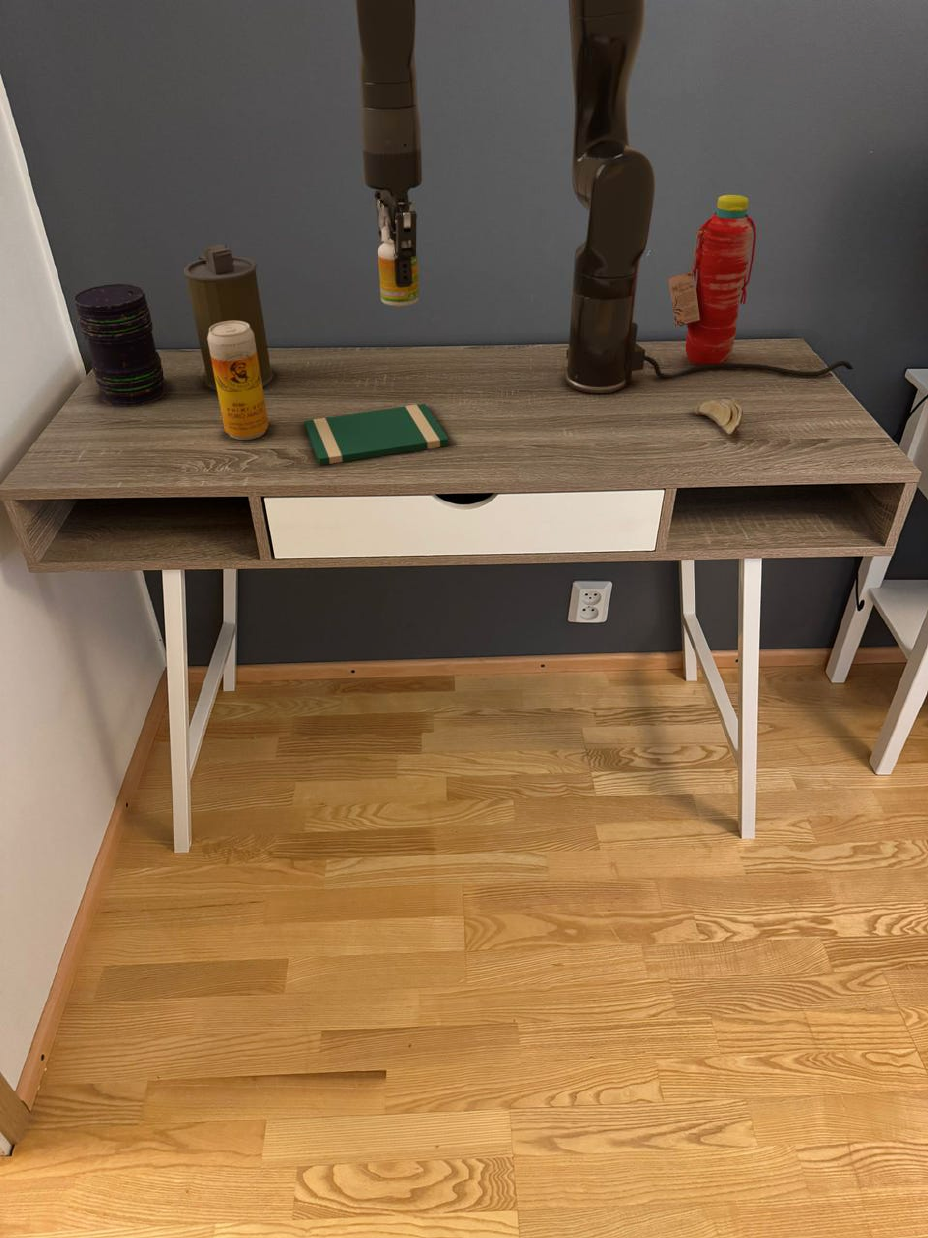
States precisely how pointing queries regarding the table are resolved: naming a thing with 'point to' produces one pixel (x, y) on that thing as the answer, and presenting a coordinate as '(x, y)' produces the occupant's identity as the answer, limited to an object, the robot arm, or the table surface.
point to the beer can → (238, 379)
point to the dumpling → (723, 413)
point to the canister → (226, 302)
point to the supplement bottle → (387, 276)
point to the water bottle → (715, 282)
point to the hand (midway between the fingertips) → (398, 278)
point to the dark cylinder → (121, 344)
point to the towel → (374, 433)
